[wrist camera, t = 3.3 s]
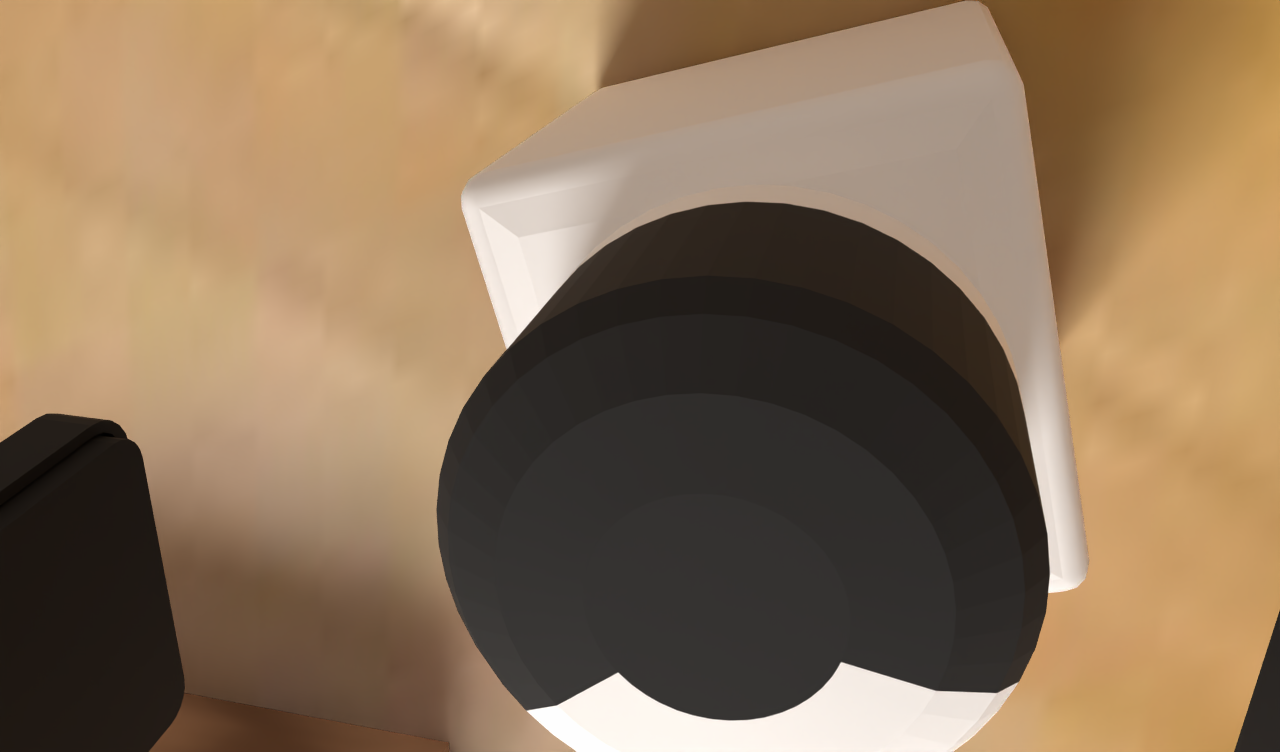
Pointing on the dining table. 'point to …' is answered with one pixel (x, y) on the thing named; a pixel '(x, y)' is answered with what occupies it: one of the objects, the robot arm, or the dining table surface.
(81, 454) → the robot arm
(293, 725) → the tower base
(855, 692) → the medicine bottle
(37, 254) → the dining table surface
